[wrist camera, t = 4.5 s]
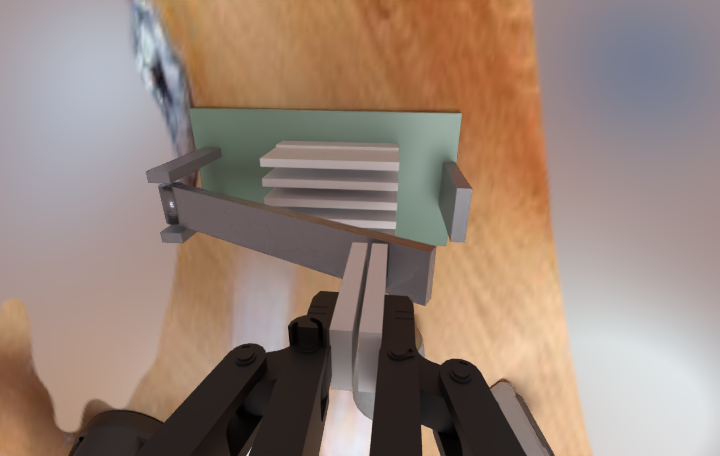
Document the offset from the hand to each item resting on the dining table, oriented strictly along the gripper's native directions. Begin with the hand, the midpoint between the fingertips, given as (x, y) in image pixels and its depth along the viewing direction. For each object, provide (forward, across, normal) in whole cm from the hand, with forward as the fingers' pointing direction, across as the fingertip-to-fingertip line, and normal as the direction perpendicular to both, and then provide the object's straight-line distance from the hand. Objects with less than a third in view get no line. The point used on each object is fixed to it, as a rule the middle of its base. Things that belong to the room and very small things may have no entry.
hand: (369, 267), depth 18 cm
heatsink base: (+16, -5, 0) cm, 17 cm away
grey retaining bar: (+5, -6, 0) cm, 8 cm away
